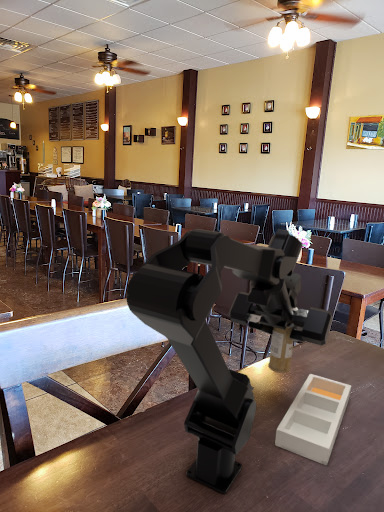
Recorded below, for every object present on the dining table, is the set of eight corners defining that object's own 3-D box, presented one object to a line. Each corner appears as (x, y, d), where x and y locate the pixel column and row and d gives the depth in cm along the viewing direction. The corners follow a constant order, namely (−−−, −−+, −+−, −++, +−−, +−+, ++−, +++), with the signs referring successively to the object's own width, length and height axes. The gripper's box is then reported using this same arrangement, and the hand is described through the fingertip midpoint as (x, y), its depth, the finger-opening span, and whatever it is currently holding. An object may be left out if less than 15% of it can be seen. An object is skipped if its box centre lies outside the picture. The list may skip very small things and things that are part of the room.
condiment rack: (326, 465, 62) (329, 448, 61) (274, 445, 66) (276, 429, 65) (349, 397, 82) (351, 384, 82) (308, 385, 86) (310, 372, 86)
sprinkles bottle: (293, 374, 78) (302, 310, 76) (271, 374, 78) (279, 310, 75) (285, 363, 83) (293, 303, 80) (264, 363, 82) (271, 302, 80)
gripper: (337, 269, 68) (342, 313, 79) (240, 253, 77) (256, 294, 89) (320, 324, 63) (327, 363, 74) (218, 299, 72) (238, 338, 83)
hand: (285, 336), depth 80 cm, fingers closed on sprinkles bottle, 4 cm apart
